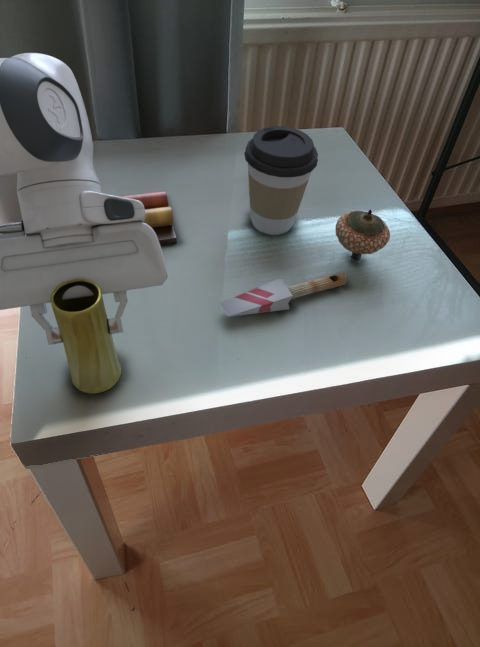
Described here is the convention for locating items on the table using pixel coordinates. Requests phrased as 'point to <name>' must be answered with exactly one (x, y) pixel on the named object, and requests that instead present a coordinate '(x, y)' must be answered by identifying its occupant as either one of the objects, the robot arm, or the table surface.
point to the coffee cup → (278, 176)
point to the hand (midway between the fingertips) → (87, 338)
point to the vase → (86, 337)
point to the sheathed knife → (277, 295)
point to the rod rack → (157, 214)
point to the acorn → (362, 233)
